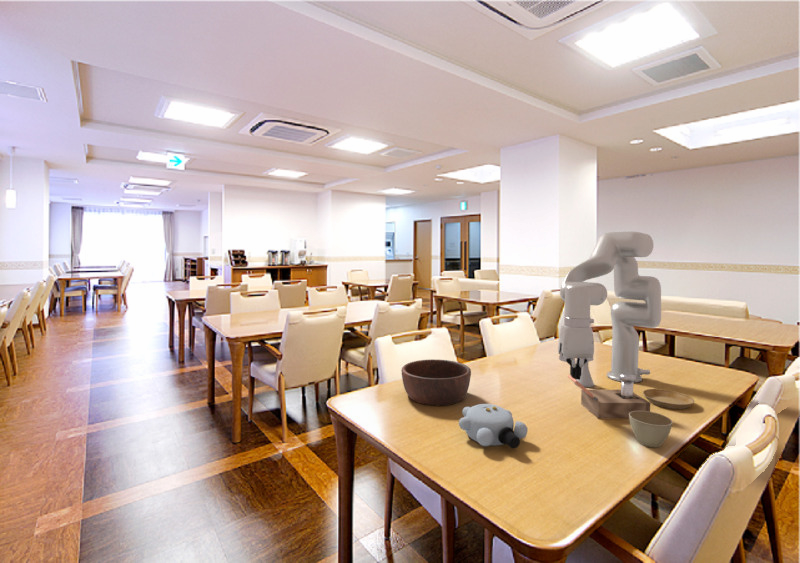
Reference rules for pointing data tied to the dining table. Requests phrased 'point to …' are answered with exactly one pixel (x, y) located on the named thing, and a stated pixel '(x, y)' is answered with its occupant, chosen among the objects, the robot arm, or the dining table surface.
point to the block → (612, 404)
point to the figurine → (492, 425)
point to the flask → (585, 377)
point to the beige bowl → (650, 427)
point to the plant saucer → (668, 398)
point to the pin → (627, 385)
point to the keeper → (580, 386)
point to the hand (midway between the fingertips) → (575, 378)
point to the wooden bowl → (436, 381)
